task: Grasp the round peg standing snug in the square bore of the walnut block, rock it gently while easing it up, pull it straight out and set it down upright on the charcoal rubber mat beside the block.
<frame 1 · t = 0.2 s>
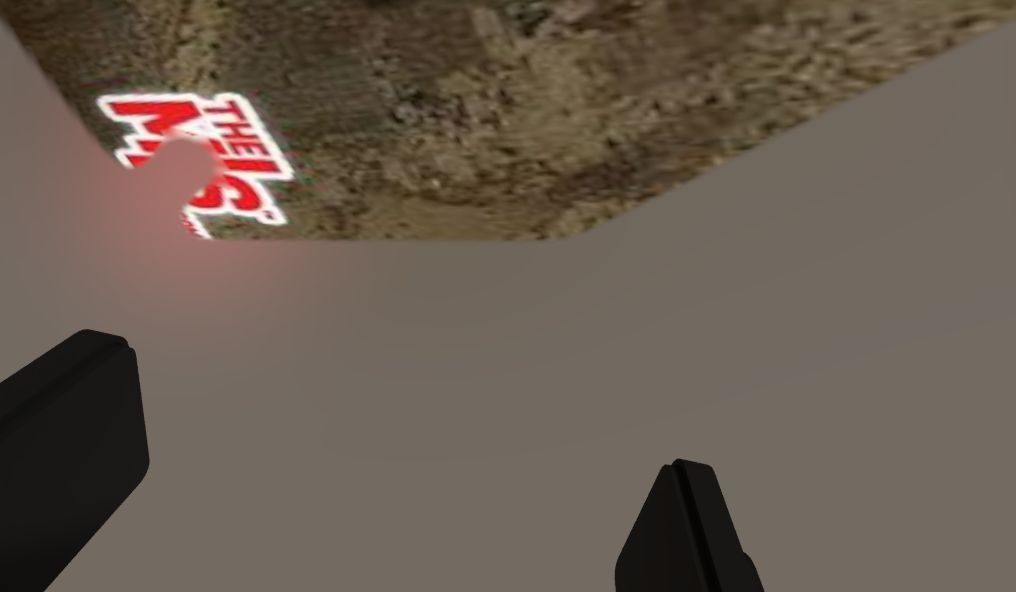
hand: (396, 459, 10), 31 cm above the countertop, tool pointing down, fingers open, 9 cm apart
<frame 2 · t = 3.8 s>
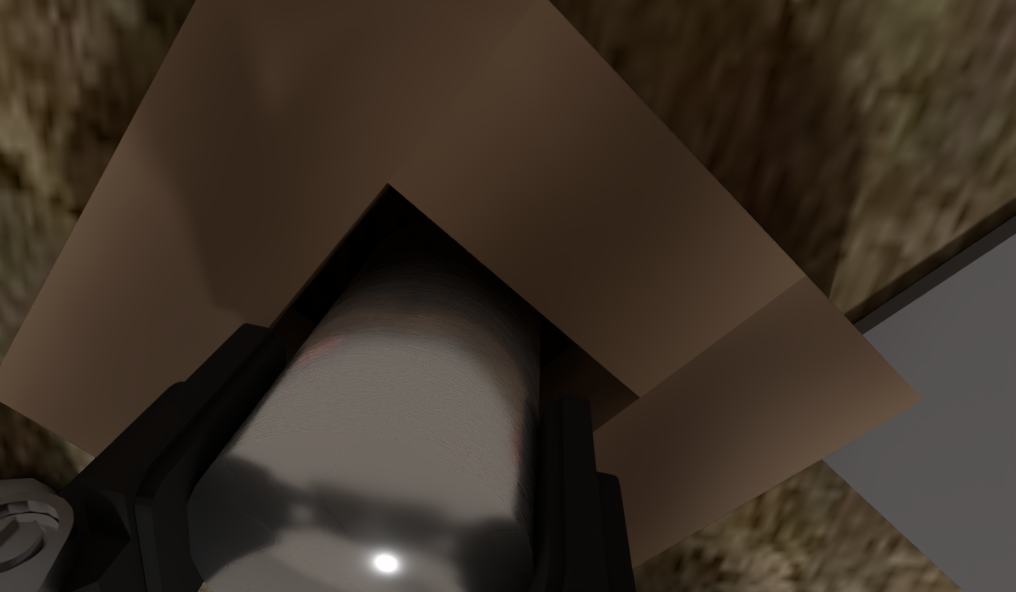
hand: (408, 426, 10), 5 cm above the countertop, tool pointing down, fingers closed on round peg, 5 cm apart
bore block: (451, 305, 15), on the countertop
round peg: (450, 304, 15), resting in bore block, touching gripper
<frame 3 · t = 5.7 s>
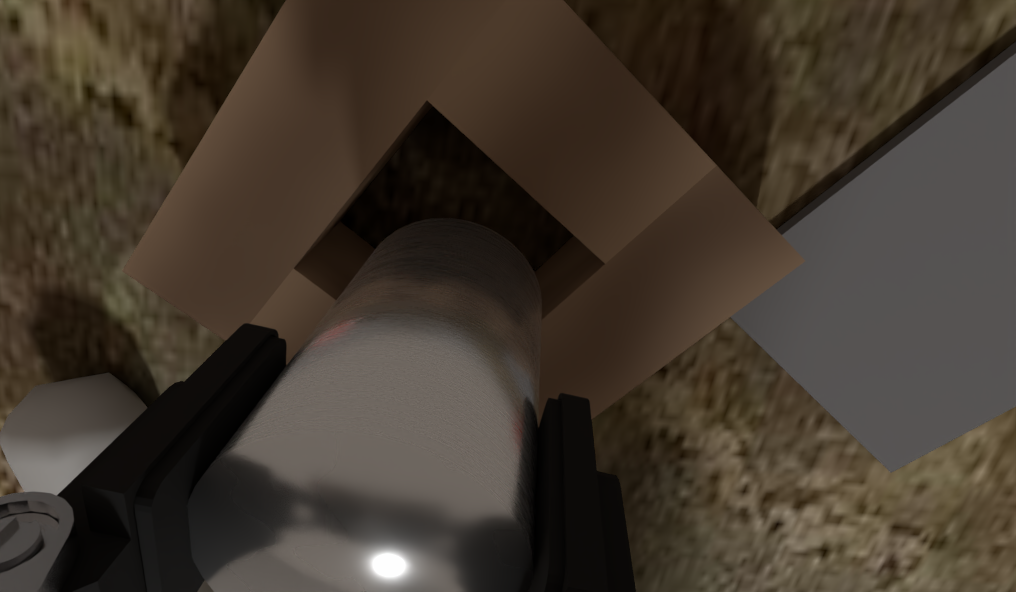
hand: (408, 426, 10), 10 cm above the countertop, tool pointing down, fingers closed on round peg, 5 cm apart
bore block: (465, 218, 19), on the countertop
mat: (951, 284, 19), on the countertop
round peg: (450, 304, 15), point 5 cm above the countertop, touching gripper
tube: (182, 543, 29), on the countertop
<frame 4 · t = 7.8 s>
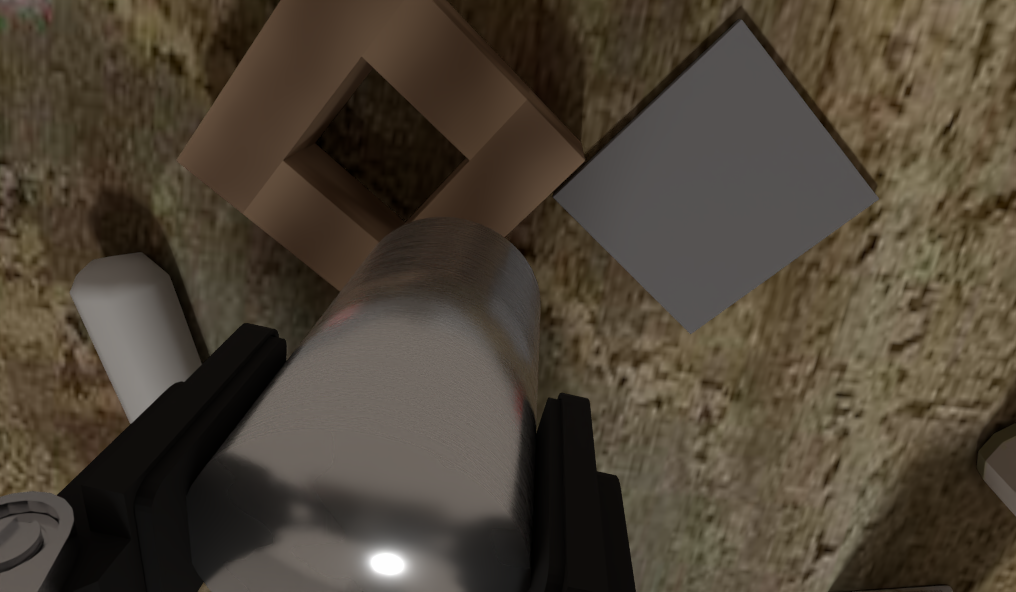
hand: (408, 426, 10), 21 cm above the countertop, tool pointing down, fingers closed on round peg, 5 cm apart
bore block: (396, 142, 29), on the countertop
mat: (710, 195, 29), on the countertop
round peg: (449, 303, 15), point 16 cm above the countertop, touching gripper
tube: (200, 401, 39), on the countertop
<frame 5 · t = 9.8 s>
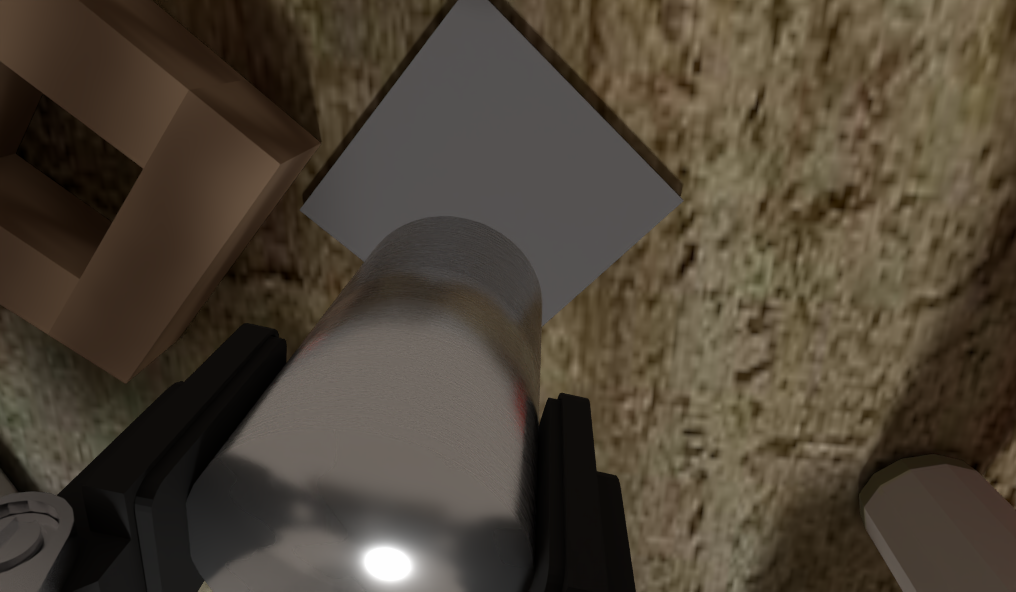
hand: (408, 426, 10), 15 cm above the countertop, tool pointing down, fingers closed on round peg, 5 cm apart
bore block: (108, 150, 24), on the countertop
mat: (486, 202, 24), on the countertop
round peg: (450, 303, 15), point 10 cm above the countertop, touching gripper
bottle: (910, 487, 30), on the countertop
when the fingers open (7 cm above the countertop, at t = 11.7 s): round peg drops 1 cm, resting on mat.
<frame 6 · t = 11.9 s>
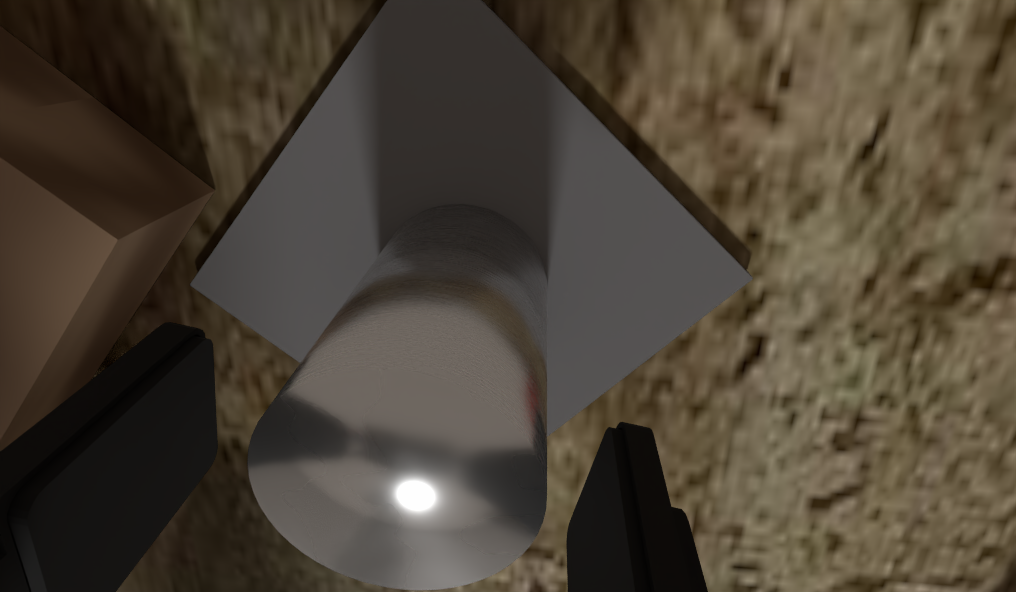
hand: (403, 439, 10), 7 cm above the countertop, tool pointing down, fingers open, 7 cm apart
mat: (461, 274, 17), on the countertop
round peg: (463, 285, 16), point 1 cm above the countertop, touching mat
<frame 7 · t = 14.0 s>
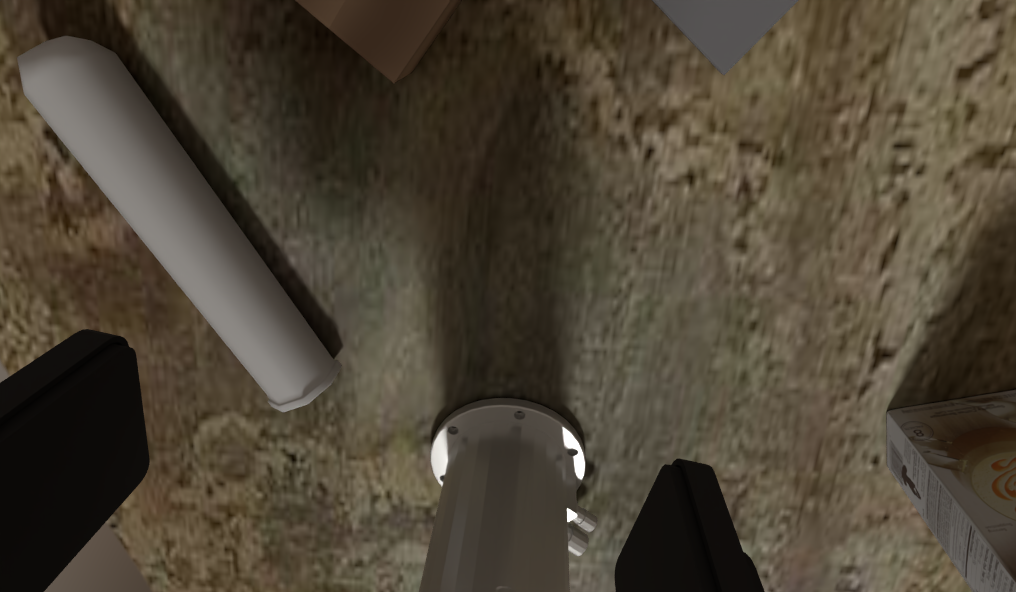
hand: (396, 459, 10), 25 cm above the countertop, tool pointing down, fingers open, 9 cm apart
coffee box: (948, 426, 40), on the countertop
tube: (218, 224, 36), on the countertop
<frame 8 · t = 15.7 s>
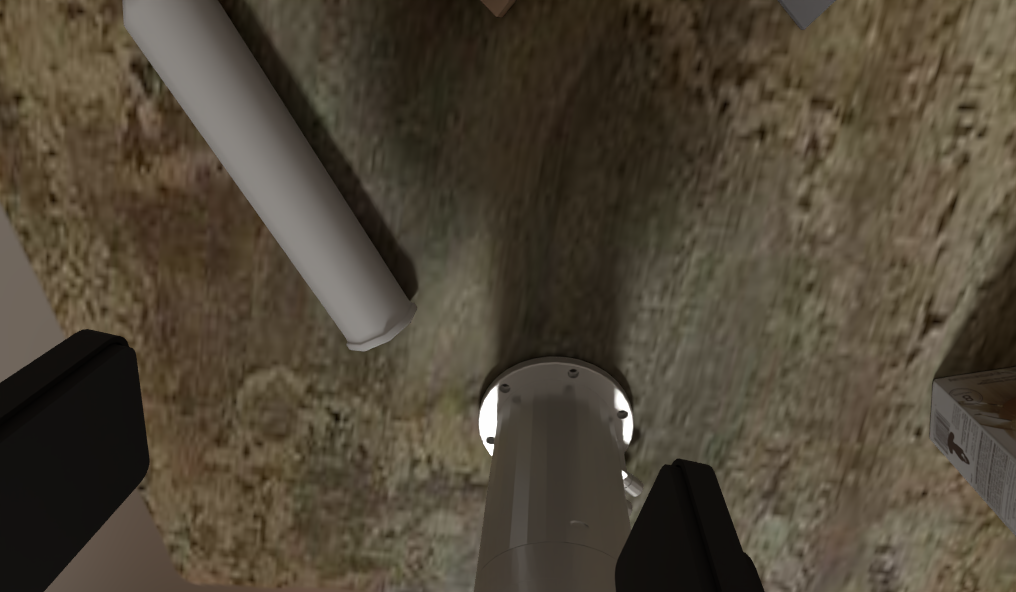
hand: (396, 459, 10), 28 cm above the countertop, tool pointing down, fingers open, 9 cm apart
coffee box: (991, 398, 41), on the countertop
tube: (297, 165, 37), on the countertop
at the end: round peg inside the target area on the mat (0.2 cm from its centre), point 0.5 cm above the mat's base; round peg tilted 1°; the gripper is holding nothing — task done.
